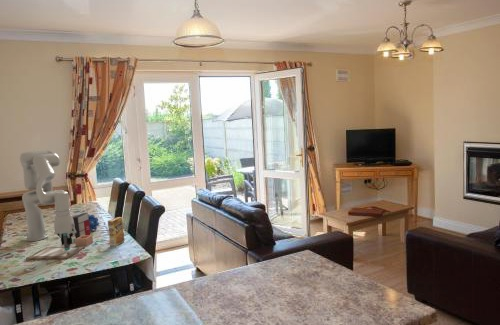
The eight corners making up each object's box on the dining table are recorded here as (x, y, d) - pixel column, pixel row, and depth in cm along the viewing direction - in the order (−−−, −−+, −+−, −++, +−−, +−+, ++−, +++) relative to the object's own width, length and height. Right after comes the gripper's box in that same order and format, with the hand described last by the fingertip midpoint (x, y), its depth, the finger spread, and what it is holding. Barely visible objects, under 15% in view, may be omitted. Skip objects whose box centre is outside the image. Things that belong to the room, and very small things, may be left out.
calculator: (80, 240, 241) (78, 217, 240) (74, 240, 242) (72, 217, 241) (91, 235, 252) (88, 212, 250) (85, 234, 253) (83, 212, 251)
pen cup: (76, 246, 229) (75, 239, 229) (82, 242, 236) (81, 235, 236) (87, 246, 229) (86, 238, 228) (93, 242, 235) (92, 235, 235)
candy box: (115, 246, 225) (113, 221, 224) (109, 245, 227) (107, 220, 225) (124, 241, 234) (122, 217, 232) (119, 241, 235) (116, 216, 233)
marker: (63, 250, 219) (61, 233, 218) (66, 248, 222) (64, 231, 221) (68, 250, 219) (66, 233, 218) (71, 248, 222) (69, 231, 221)
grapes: (84, 234, 255) (82, 216, 254) (81, 232, 260) (79, 215, 259) (101, 230, 263) (100, 213, 261) (98, 228, 268) (96, 211, 266)
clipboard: (26, 260, 210) (25, 256, 210) (46, 248, 228) (46, 245, 228) (66, 259, 207) (66, 255, 207) (84, 248, 225) (84, 244, 225)
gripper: (45, 215, 215) (49, 246, 217) (72, 214, 213) (76, 246, 216) (54, 211, 223) (57, 242, 225) (80, 211, 221) (83, 241, 223)
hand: (66, 243), depth 220 cm, fingers closed on marker, 3 cm apart
